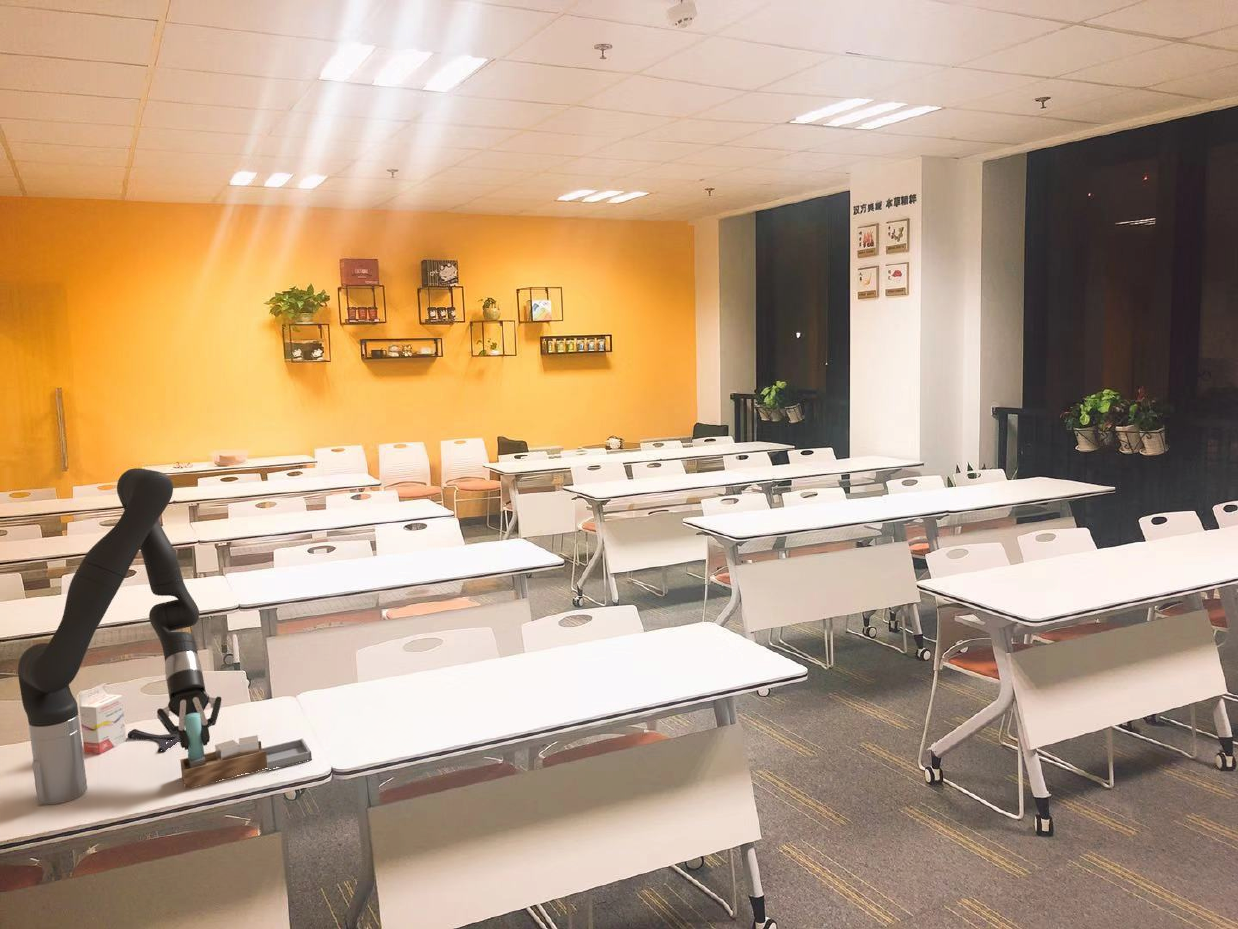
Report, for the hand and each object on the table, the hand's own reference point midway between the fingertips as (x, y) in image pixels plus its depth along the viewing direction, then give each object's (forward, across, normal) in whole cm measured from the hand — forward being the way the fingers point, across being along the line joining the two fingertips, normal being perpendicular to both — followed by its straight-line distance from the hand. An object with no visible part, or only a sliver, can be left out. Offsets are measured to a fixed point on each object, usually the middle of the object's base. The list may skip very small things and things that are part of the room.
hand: (196, 745), depth 207 cm
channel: (+5, +5, +7) cm, 10 cm away
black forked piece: (-17, -6, +30) cm, 35 cm away
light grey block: (+3, +6, +6) cm, 9 cm away
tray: (+5, +19, +7) cm, 21 cm away
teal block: (+3, 0, +6) cm, 6 cm away
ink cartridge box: (-19, -17, +31) cm, 40 cm away
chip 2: (+3, +11, +6) cm, 13 cm away
